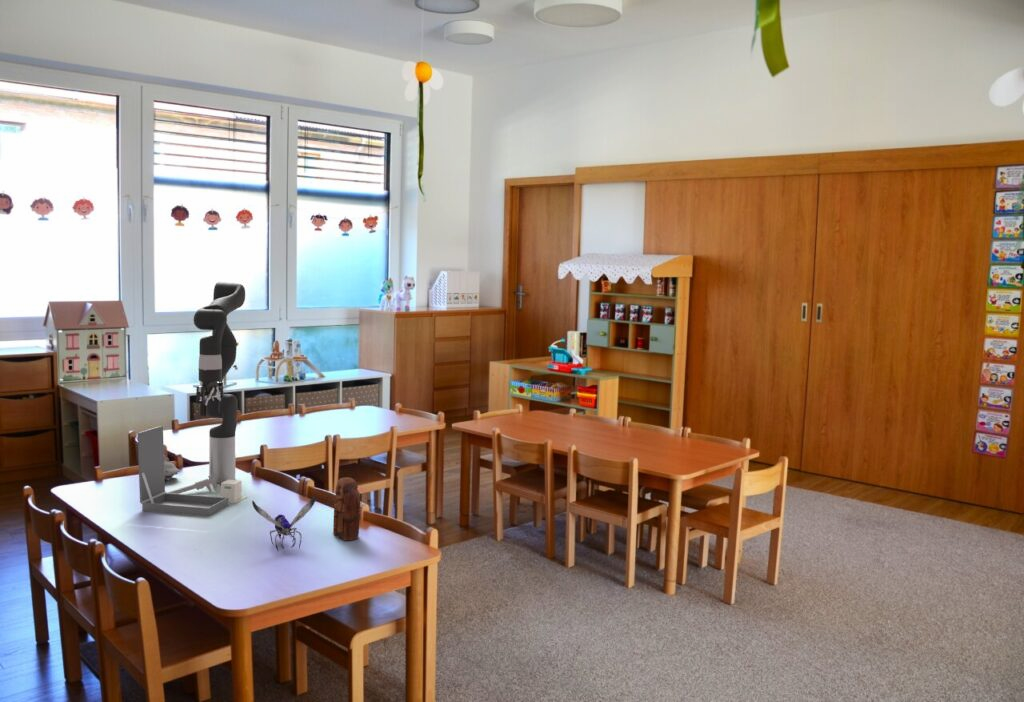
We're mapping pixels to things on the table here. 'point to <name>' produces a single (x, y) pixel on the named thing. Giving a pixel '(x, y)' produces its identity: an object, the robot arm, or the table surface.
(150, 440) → the equipment case
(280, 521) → the mechanical insect
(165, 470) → the grey clay mound
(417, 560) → the table surface
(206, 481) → the caliper
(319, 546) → the table surface
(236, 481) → the block
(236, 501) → the mat
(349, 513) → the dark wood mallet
